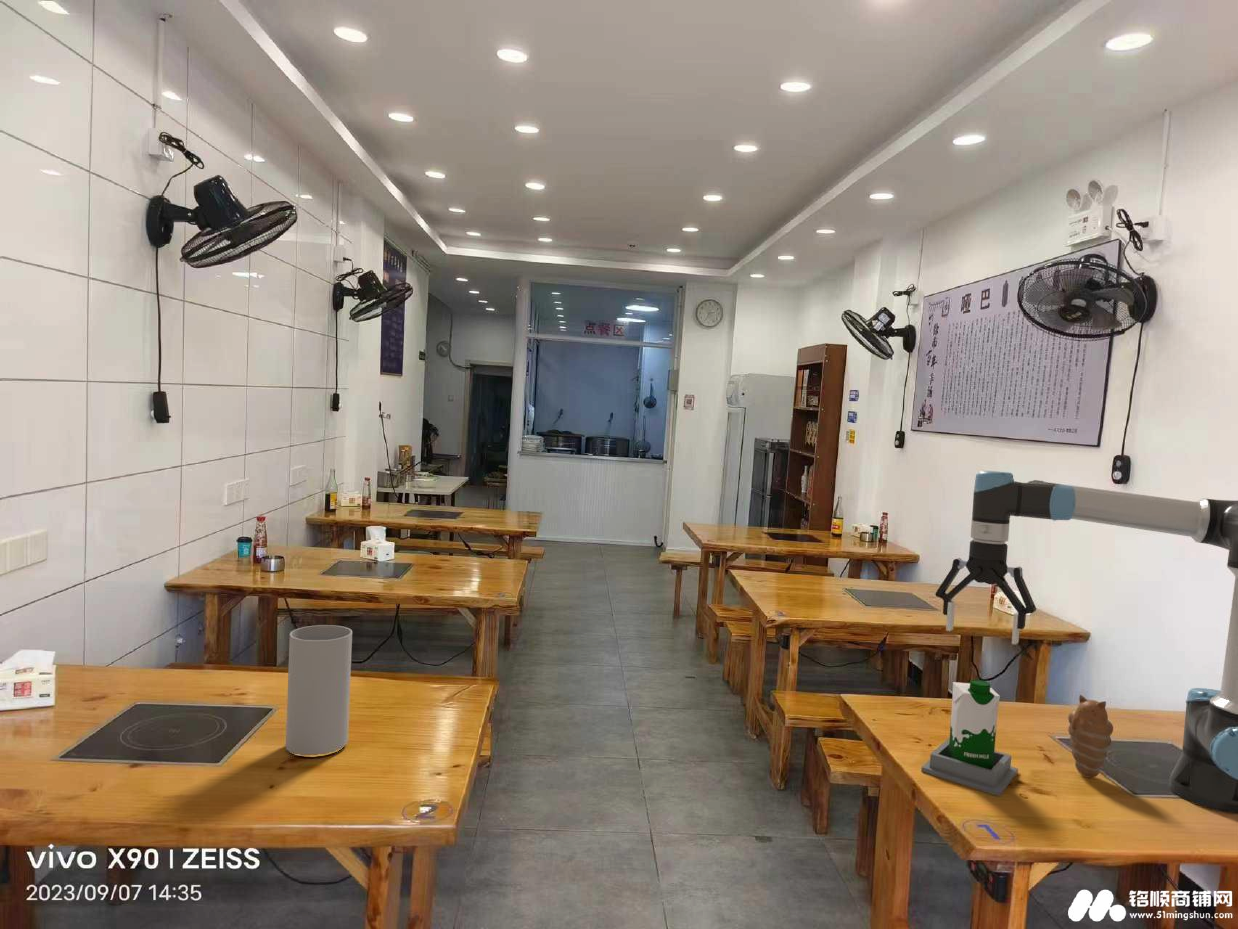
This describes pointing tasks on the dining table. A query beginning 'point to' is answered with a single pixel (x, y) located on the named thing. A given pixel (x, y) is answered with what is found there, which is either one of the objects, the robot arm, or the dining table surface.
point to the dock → (971, 770)
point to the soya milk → (973, 723)
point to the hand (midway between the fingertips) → (981, 636)
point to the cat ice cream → (1089, 736)
